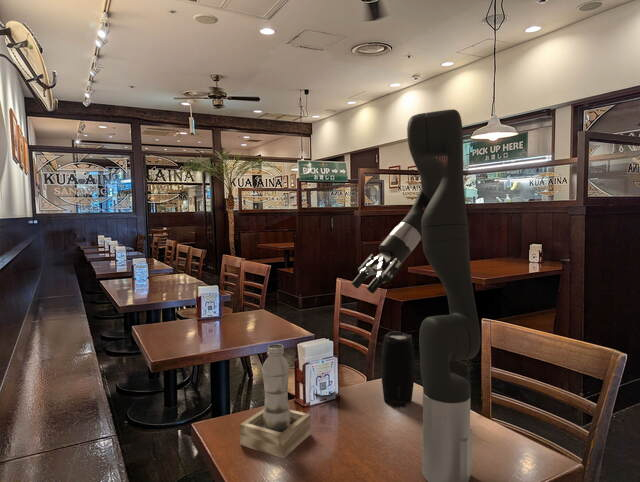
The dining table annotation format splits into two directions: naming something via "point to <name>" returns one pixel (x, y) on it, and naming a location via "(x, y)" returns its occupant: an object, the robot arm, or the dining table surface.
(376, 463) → the dining table surface
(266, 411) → the plastic bottle
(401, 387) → the portable speaker
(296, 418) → the stand
